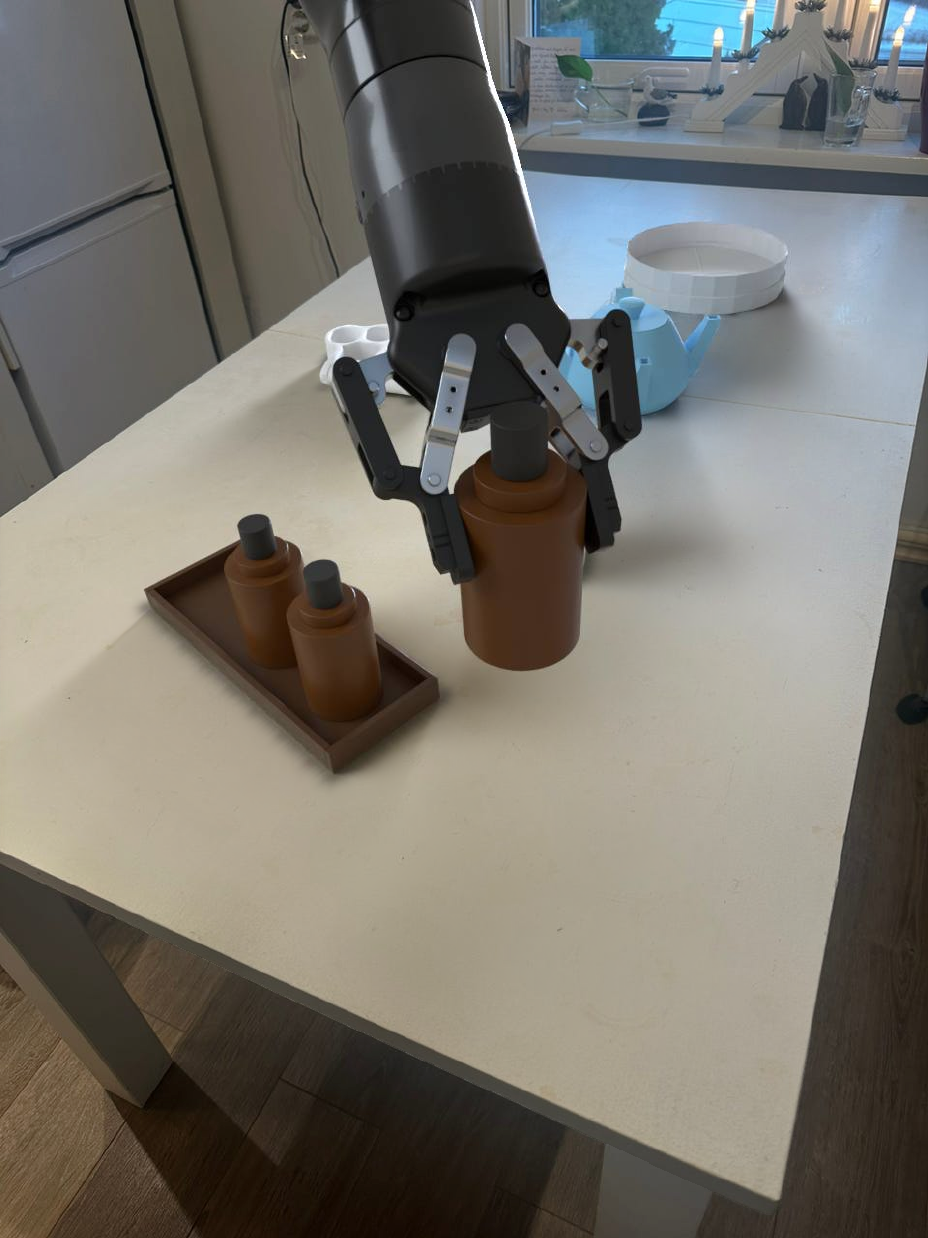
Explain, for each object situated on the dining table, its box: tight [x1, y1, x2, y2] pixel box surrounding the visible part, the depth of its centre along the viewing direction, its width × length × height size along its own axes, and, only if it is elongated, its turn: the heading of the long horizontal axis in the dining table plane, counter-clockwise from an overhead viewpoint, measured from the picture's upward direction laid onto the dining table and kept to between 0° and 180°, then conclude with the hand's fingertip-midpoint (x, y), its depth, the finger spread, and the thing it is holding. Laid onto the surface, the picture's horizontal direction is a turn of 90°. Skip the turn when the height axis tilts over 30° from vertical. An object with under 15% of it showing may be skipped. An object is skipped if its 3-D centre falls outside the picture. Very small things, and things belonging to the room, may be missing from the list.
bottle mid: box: [224, 513, 306, 669], centre depth 67 cm, size 6×6×12 cm
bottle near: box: [287, 558, 383, 722], centre depth 62 cm, size 6×6×12 cm
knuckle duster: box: [319, 323, 412, 397], centre depth 107 cm, size 3×18×15 cm
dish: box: [623, 221, 789, 316], centre depth 123 cm, size 22×22×5 cm
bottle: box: [453, 401, 587, 672], centre depth 40 cm, size 6×6×12 cm
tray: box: [143, 538, 440, 775], centre depth 70 cm, size 26×10×2 cm, turn 44°
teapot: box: [558, 287, 723, 416], centre depth 98 cm, size 15×15×11 cm
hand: (534, 564), depth 39 cm, fingers closed on bottle, 6 cm apart
